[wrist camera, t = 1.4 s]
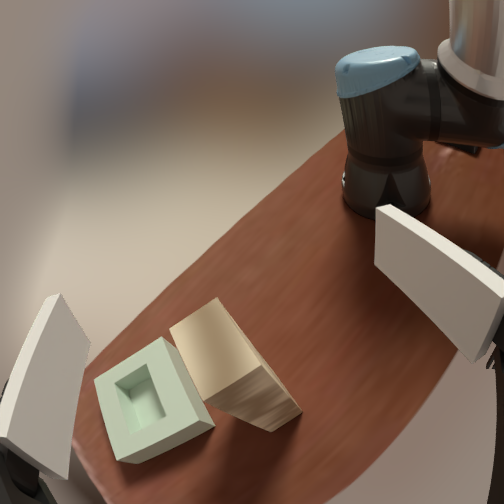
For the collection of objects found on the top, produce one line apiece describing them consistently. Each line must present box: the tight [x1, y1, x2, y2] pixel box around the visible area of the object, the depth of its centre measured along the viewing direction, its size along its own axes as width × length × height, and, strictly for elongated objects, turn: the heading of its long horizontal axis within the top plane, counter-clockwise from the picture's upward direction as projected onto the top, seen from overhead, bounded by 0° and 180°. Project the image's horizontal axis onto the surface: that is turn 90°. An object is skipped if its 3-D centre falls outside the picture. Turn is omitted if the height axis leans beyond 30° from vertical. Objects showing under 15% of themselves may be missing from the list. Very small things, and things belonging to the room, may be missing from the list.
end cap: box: [94, 337, 215, 464], centre depth 30 cm, size 12×12×4 cm
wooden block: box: [170, 298, 303, 432], centre depth 23 cm, size 4×6×16 cm, turn 30°
